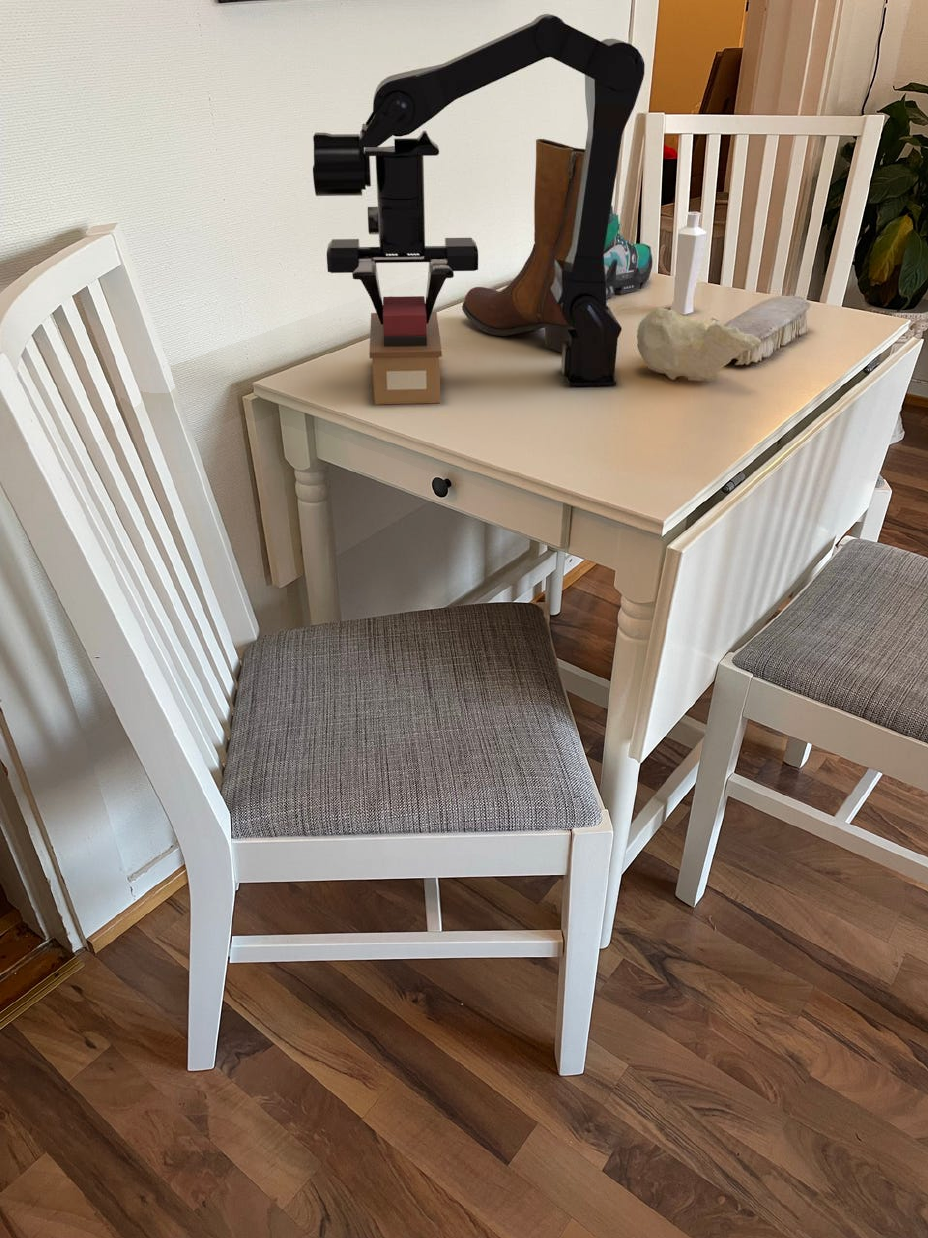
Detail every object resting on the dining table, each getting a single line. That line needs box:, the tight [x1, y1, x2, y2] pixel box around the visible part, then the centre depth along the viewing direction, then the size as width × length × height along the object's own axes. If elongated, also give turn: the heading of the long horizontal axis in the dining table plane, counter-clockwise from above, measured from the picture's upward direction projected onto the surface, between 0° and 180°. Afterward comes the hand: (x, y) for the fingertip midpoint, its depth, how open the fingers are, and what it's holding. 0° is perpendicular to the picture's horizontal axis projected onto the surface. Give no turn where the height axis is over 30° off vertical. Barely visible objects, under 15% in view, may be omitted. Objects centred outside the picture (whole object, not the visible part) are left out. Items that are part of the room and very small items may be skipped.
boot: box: [461, 138, 619, 354], centre depth 138 cm, size 25×9×27 cm, turn 39°
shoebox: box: [369, 311, 443, 405], centre depth 128 cm, size 9×16×7 cm, turn 4°
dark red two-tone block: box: [382, 295, 427, 347], centre depth 125 cm, size 5×12×4 cm, turn 4°
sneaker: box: [604, 204, 653, 300], centre depth 162 cm, size 9×24×15 cm, turn 134°
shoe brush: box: [723, 295, 812, 366], centre depth 141 cm, size 24×8×5 cm, turn 143°
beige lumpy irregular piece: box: [636, 307, 761, 383], centre depth 130 cm, size 15×7×15 cm
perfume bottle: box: [669, 211, 708, 316], centre depth 152 cm, size 5×4×15 cm
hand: (404, 323), depth 126 cm, fingers closed on dark red two-tone block, 5 cm apart
